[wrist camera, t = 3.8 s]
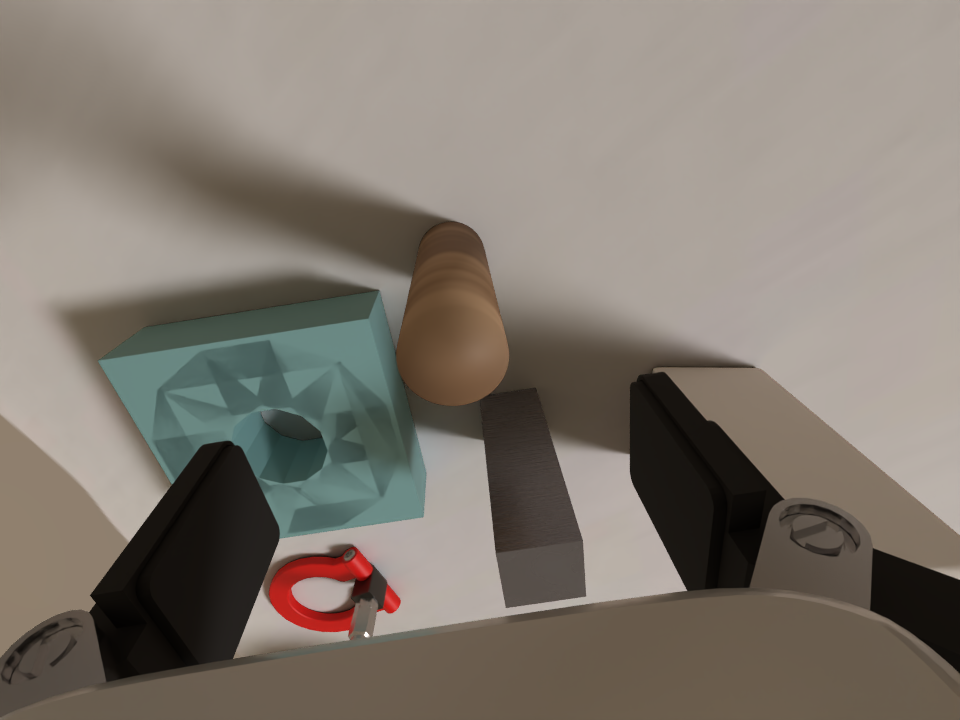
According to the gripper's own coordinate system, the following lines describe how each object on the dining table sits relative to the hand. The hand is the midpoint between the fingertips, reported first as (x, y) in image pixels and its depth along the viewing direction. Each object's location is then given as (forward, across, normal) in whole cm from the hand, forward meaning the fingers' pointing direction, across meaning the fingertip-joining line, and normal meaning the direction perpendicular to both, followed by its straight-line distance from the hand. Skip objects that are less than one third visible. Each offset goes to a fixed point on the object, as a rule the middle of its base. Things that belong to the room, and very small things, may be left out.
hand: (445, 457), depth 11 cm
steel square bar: (+16, -2, +10) cm, 20 cm away
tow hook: (+17, +14, +24) cm, 33 cm away
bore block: (+17, +10, +8) cm, 21 cm away
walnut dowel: (+16, 0, 0) cm, 16 cm away
